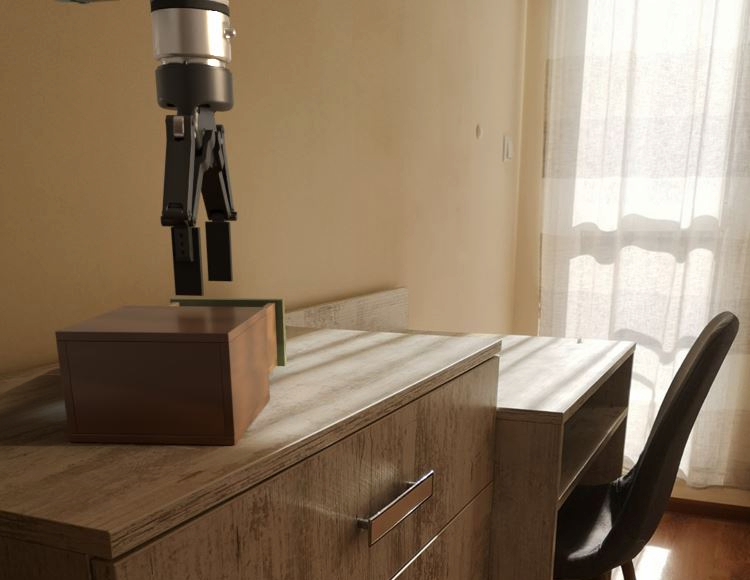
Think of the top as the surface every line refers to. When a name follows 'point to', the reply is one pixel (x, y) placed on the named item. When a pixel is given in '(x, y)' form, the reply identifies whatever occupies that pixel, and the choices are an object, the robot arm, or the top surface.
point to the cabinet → (165, 374)
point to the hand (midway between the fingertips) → (206, 288)
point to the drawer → (273, 318)
